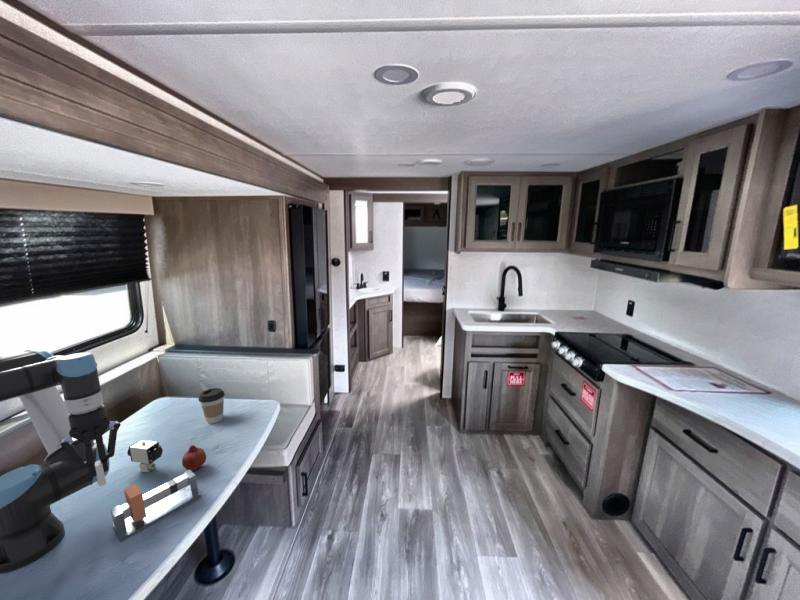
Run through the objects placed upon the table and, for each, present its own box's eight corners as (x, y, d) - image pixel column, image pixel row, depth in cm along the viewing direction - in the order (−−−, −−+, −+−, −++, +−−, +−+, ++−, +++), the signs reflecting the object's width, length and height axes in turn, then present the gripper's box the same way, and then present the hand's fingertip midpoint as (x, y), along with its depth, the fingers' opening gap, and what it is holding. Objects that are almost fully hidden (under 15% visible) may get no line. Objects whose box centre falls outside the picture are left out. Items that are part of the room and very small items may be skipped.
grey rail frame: (120, 542, 98) (116, 520, 97) (112, 526, 104) (108, 505, 102) (200, 496, 115) (198, 477, 114) (190, 485, 121) (187, 467, 120)
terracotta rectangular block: (134, 522, 102) (130, 498, 100) (128, 512, 106) (124, 489, 104) (146, 516, 104) (142, 492, 103) (140, 506, 108) (135, 483, 106)
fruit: (181, 478, 125) (177, 454, 123) (185, 465, 132) (182, 442, 130) (206, 472, 128) (202, 448, 126) (208, 459, 135) (205, 437, 133)
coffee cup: (212, 413, 172) (208, 386, 169) (232, 414, 170) (229, 387, 168) (196, 425, 161) (192, 396, 158) (217, 427, 159) (213, 397, 157)
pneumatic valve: (155, 475, 127) (150, 447, 125) (130, 471, 129) (125, 444, 127) (168, 465, 132) (163, 438, 130) (143, 462, 134) (138, 435, 132)
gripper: (55, 422, 85) (73, 503, 90) (119, 402, 96) (133, 475, 100) (50, 414, 90) (68, 491, 94) (112, 396, 100) (126, 466, 104)
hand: (101, 483), depth 97 cm, fingers closed
